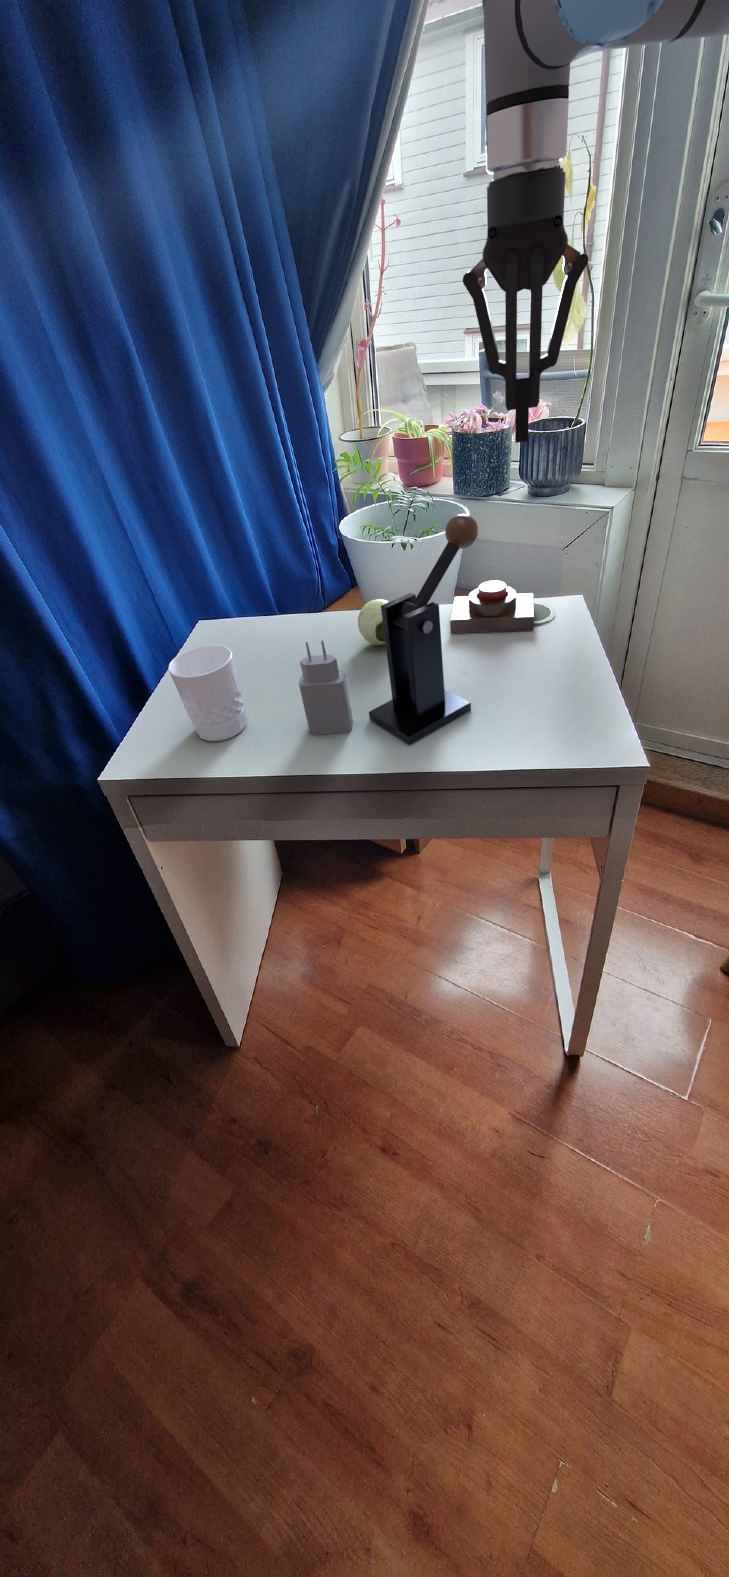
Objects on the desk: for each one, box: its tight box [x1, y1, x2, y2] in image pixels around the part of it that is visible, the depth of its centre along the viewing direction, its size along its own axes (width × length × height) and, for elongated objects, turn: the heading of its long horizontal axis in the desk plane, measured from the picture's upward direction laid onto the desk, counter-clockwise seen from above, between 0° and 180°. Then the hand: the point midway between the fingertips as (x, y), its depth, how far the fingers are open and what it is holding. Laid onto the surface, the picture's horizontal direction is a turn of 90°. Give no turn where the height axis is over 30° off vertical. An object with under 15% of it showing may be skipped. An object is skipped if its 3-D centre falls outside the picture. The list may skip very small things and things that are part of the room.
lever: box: [393, 513, 479, 632], centre depth 73 cm, size 14×4×4 cm
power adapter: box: [298, 640, 354, 736], centre depth 79 cm, size 3×5×12 cm, turn 86°
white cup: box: [168, 644, 248, 742], centre depth 83 cm, size 8×8×10 cm
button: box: [478, 580, 507, 602], centre depth 96 cm, size 4×4×2 cm
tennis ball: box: [357, 598, 390, 647], centre depth 96 cm, size 6×7×7 cm
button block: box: [449, 585, 535, 634], centre depth 98 cm, size 12×8×4 cm, turn 79°
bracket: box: [368, 592, 472, 746], centre depth 77 cm, size 10×8×15 cm
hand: (521, 439), depth 78 cm, fingers closed
